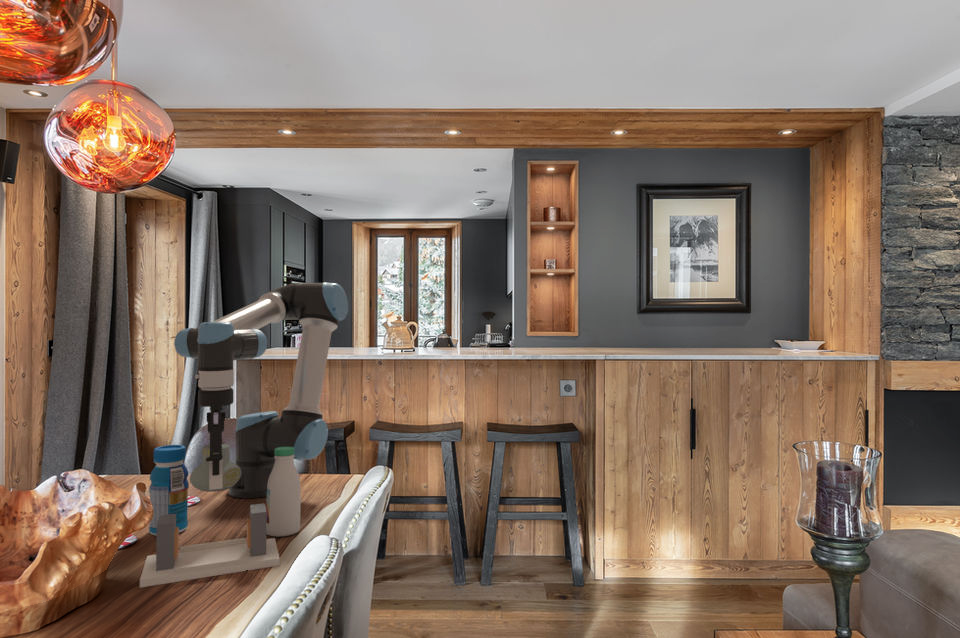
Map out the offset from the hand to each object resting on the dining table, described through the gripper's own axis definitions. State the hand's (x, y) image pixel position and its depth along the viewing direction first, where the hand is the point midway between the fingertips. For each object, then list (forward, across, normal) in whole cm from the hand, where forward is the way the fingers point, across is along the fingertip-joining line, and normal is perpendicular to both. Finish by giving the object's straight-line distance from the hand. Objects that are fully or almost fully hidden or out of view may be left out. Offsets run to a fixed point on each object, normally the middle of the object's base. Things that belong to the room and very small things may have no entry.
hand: (216, 481), depth 133 cm
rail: (+13, +17, 0) cm, 21 cm away
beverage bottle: (+13, -8, -10) cm, 19 cm away
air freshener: (+2, 0, 0) cm, 2 cm away
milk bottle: (+13, +4, +15) cm, 20 cm away
